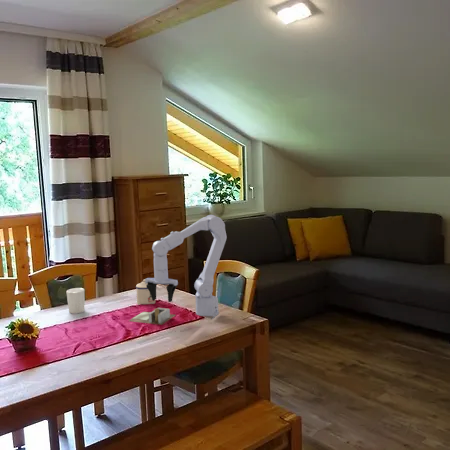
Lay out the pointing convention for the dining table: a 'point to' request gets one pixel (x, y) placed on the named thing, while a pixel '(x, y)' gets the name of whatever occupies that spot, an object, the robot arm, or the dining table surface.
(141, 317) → the board
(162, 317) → the c link
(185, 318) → the dining table surface
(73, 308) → the white cup
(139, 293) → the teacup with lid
